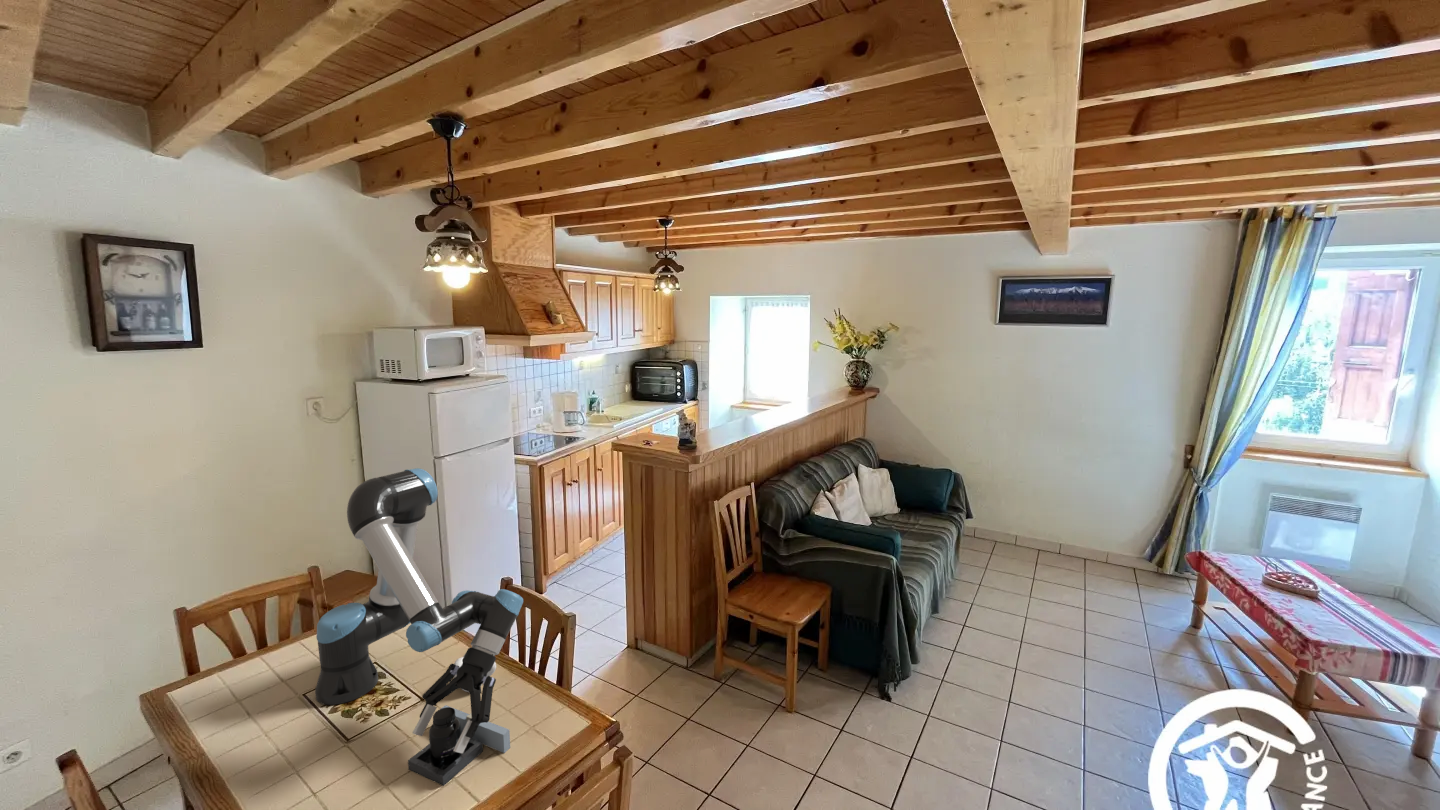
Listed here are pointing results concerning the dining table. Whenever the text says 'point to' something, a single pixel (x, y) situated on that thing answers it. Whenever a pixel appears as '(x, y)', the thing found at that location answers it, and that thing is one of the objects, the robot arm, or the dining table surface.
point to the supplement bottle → (444, 738)
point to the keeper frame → (444, 775)
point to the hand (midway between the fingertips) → (437, 743)
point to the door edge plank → (486, 732)
